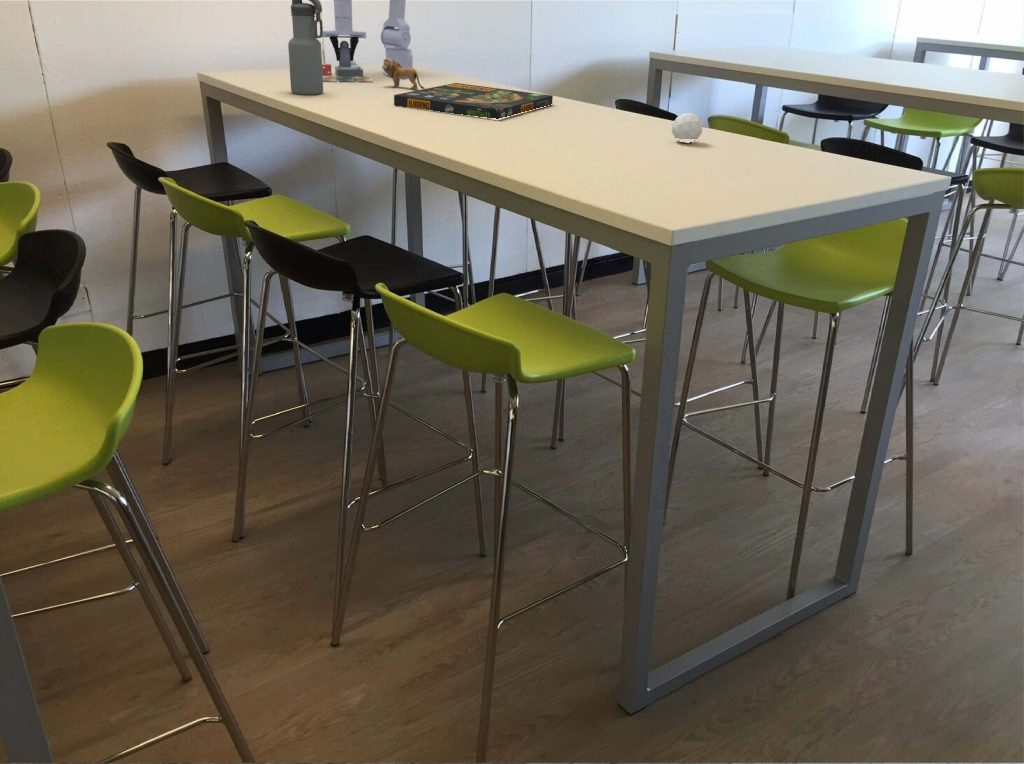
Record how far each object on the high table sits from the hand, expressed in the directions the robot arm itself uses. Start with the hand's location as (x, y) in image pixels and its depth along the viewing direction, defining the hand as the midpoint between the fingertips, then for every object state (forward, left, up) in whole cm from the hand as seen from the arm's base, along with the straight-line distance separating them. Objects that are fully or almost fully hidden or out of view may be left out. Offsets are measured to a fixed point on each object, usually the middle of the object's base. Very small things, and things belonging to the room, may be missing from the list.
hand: (344, 60), depth 299 cm
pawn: (0, 0, -2) cm, 2 cm away
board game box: (-34, +50, -7) cm, 61 cm away
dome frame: (-3, -12, -6) cm, 13 cm away
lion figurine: (-17, +17, -6) cm, 25 cm away
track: (0, 0, -6) cm, 6 cm away
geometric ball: (-77, +106, -6) cm, 131 cm away
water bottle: (+14, +28, -6) cm, 32 cm away
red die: (+5, -12, -6) cm, 15 cm away
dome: (-3, -12, -6) cm, 13 cm away
